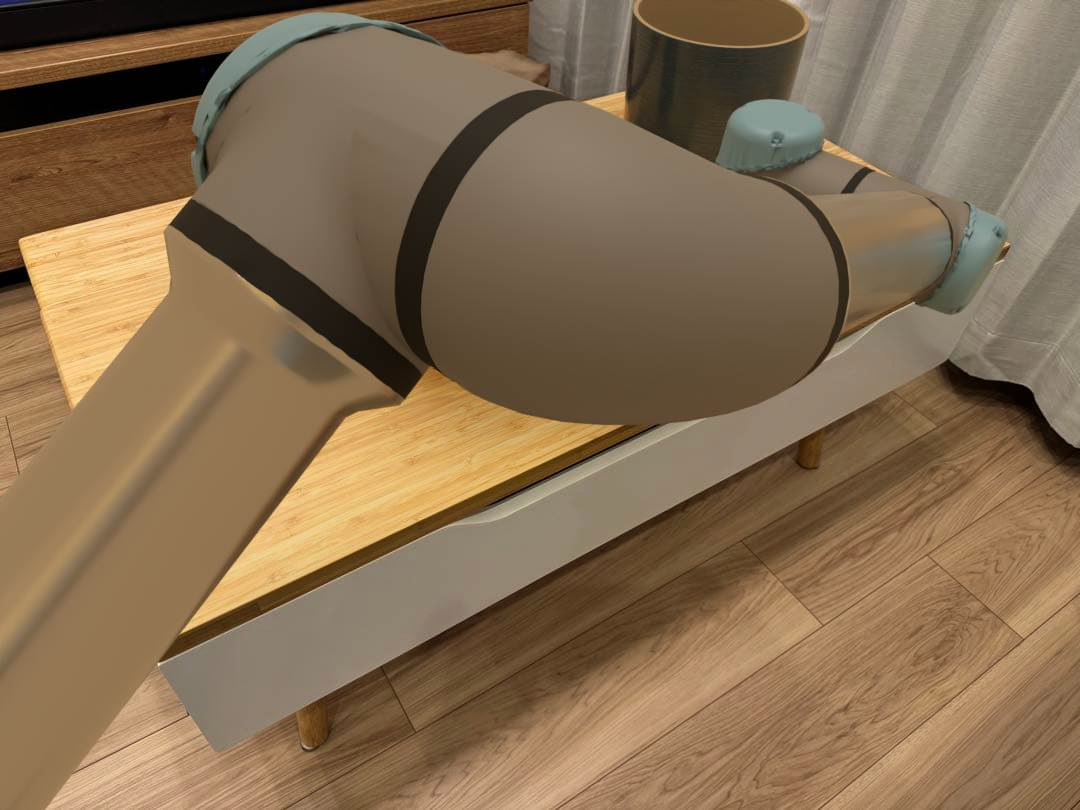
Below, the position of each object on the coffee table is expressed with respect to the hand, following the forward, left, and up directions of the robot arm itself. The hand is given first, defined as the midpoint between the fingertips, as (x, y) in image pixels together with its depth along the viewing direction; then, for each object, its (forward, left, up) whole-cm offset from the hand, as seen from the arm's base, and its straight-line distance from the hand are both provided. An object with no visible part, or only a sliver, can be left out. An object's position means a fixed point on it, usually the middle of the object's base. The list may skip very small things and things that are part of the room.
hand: (385, 248), depth 73 cm
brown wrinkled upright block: (+26, -5, -13) cm, 30 cm away
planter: (+47, -32, -13) cm, 58 cm away
